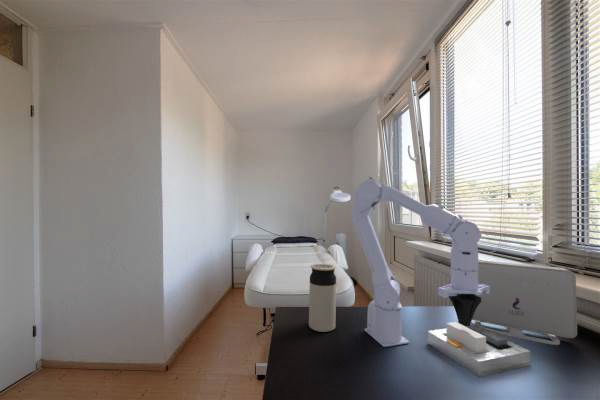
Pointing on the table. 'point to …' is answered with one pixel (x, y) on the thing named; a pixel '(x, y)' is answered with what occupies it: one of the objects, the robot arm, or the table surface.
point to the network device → (528, 300)
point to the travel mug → (322, 298)
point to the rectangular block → (466, 337)
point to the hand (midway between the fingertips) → (464, 324)
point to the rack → (495, 359)
